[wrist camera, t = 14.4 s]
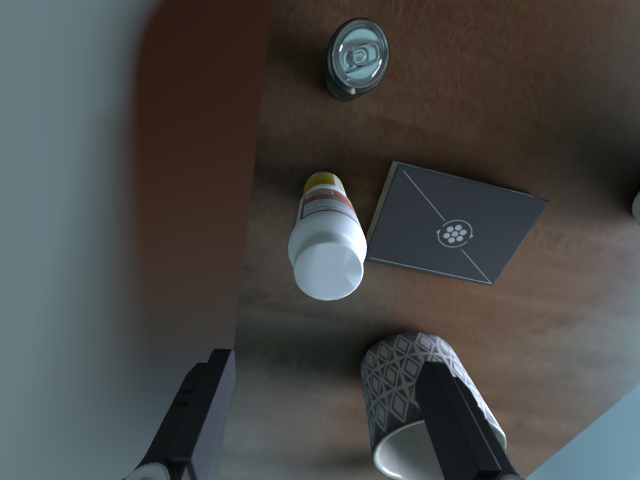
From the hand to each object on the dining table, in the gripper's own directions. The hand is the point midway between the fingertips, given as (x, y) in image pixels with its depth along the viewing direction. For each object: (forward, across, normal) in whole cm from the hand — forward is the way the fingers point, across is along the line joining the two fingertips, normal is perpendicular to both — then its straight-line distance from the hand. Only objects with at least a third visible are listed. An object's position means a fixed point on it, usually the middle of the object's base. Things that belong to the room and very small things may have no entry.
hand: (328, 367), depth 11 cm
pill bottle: (+18, 0, 0) cm, 18 cm away
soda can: (+28, -2, -14) cm, 32 cm away
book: (+28, -19, +4) cm, 34 cm away
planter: (+28, -20, +33) cm, 48 cm away
